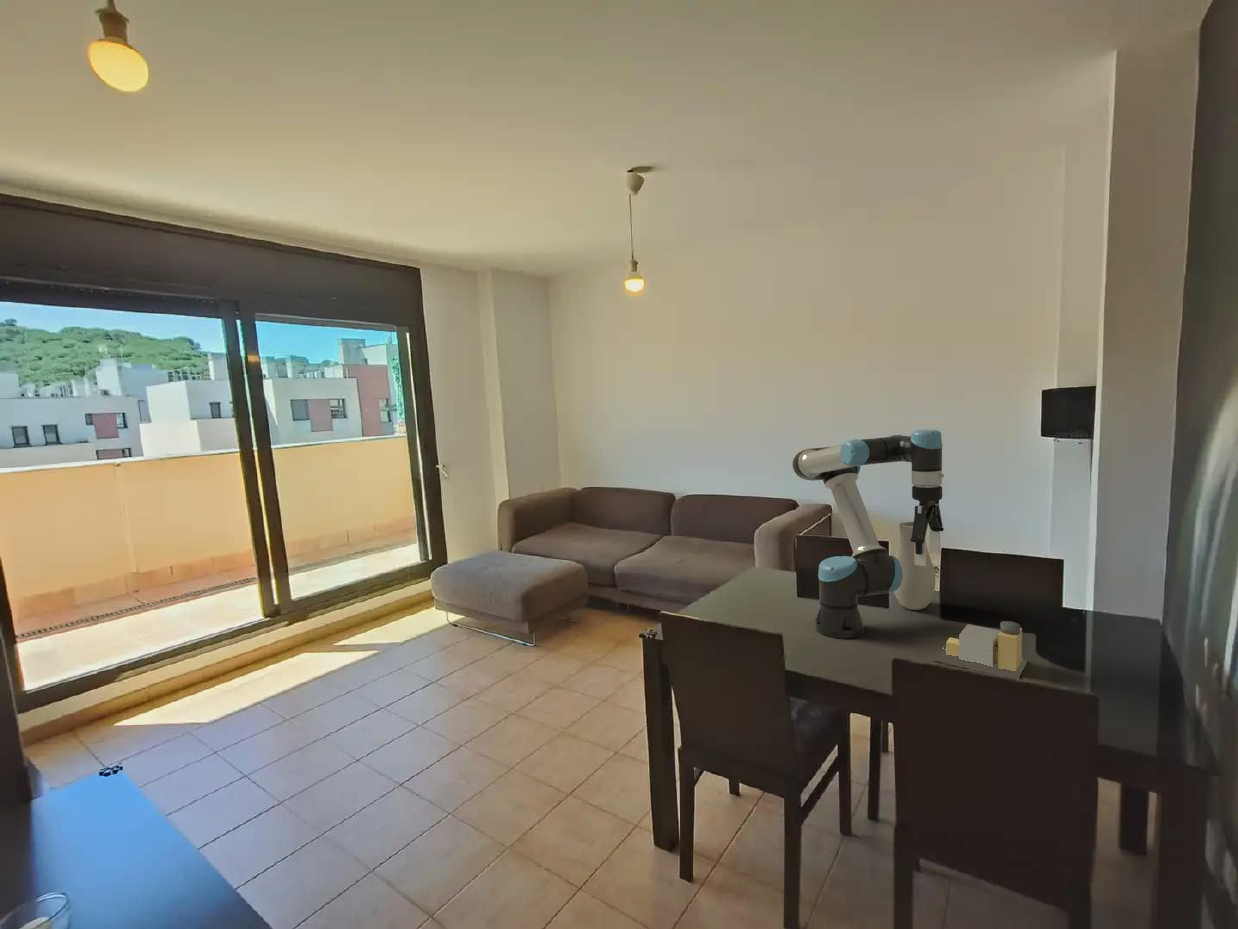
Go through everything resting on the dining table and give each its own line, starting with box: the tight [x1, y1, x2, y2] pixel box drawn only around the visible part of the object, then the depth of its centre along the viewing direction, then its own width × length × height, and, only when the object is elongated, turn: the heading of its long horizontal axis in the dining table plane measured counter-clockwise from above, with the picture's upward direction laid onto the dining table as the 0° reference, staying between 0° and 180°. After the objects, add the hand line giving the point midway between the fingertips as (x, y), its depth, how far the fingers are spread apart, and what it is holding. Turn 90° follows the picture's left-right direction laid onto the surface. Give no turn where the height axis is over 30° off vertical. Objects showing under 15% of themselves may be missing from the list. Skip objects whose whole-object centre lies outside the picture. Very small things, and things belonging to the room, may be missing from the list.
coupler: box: [945, 620, 1023, 671], centre depth 159 cm, size 17×8×12 cm, turn 46°
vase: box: [893, 521, 936, 611], centre depth 200 cm, size 14×14×30 cm
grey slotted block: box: [958, 623, 1000, 667], centre depth 160 cm, size 8×9×8 cm
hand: (927, 559), depth 163 cm, fingers open, 13 cm apart
